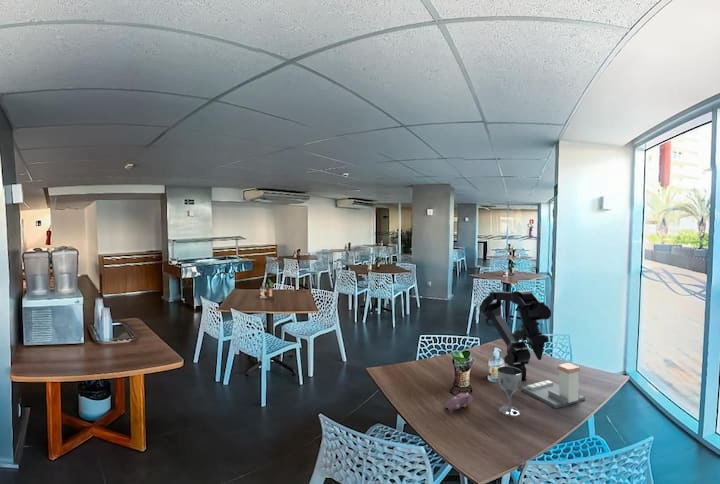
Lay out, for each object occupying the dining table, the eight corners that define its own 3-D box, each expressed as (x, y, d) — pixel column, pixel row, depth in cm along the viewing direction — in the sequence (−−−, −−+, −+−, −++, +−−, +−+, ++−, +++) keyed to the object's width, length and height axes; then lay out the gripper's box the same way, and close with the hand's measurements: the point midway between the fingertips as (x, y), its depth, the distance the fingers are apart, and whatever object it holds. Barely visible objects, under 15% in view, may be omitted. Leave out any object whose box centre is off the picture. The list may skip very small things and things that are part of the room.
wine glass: (520, 407, 132) (520, 367, 131) (522, 418, 124) (522, 375, 123) (497, 404, 134) (497, 364, 133) (498, 415, 127) (497, 373, 126)
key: (557, 397, 135) (557, 365, 134) (568, 394, 137) (568, 362, 136) (568, 403, 131) (568, 369, 130) (579, 400, 133) (579, 366, 132)
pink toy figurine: (450, 416, 129) (456, 403, 126) (442, 406, 133) (448, 393, 130) (470, 409, 134) (476, 396, 131) (462, 399, 138) (468, 386, 135)
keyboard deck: (521, 390, 145) (521, 382, 145) (548, 383, 151) (548, 375, 150) (557, 409, 130) (557, 400, 130) (586, 400, 135) (586, 392, 135)
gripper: (504, 323, 159) (514, 359, 155) (513, 325, 141) (524, 366, 137) (530, 319, 157) (541, 355, 154) (543, 320, 139) (555, 361, 136)
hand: (539, 359), depth 145 cm, fingers closed
